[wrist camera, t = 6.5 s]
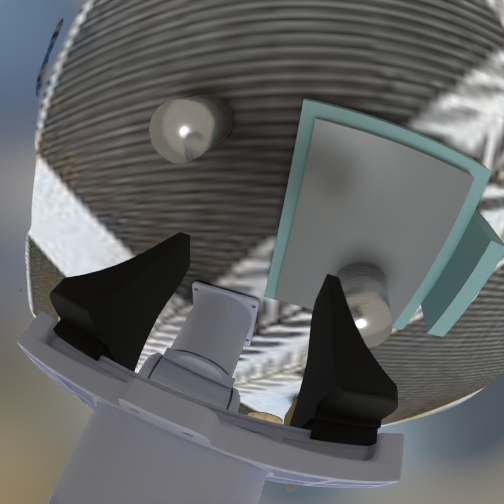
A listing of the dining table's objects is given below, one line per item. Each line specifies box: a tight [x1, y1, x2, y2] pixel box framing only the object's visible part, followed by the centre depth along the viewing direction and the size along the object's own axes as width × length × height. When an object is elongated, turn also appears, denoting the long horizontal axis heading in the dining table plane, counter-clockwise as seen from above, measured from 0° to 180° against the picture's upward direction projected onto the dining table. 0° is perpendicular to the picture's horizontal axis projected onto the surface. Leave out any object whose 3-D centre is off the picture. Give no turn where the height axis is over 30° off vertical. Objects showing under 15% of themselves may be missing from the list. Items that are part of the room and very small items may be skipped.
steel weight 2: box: [336, 263, 392, 348], centre depth 19 cm, size 4×4×5 cm
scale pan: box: [274, 117, 474, 326], centre depth 19 cm, size 16×12×1 cm
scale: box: [264, 98, 504, 336], centre depth 19 cm, size 18×17×6 cm
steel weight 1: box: [149, 94, 234, 163], centre depth 18 cm, size 4×4×5 cm
